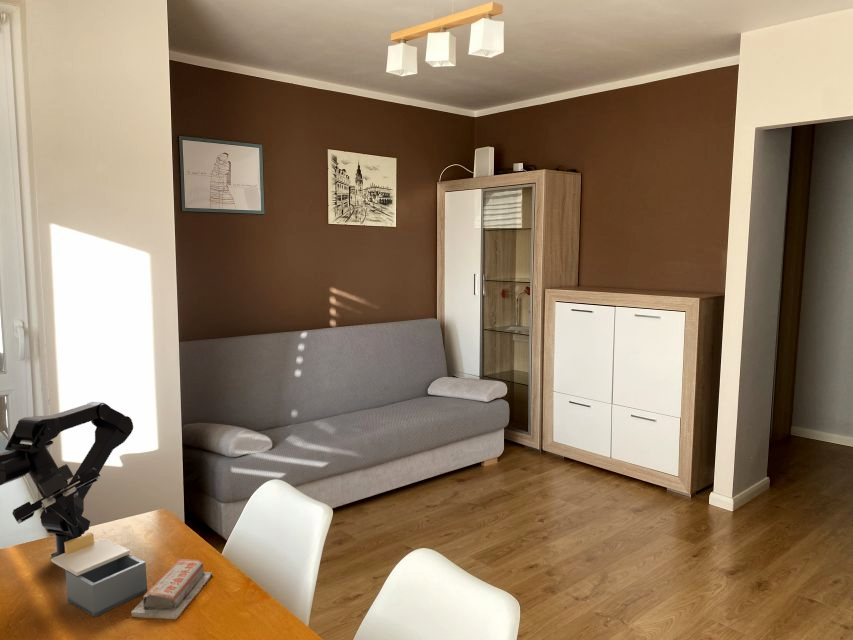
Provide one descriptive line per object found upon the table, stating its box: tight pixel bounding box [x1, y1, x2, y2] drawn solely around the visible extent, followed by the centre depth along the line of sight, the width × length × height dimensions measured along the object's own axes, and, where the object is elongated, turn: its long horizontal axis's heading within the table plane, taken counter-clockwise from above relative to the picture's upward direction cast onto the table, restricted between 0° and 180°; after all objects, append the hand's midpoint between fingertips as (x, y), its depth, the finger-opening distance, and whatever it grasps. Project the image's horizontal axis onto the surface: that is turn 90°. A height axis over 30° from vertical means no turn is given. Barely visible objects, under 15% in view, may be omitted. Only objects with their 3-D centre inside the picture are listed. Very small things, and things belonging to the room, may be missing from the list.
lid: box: [51, 532, 131, 576], centre depth 147 cm, size 11×12×3 cm
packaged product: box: [130, 558, 213, 620], centre depth 145 cm, size 18×5×10 cm
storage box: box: [64, 553, 149, 618], centre depth 145 cm, size 11×12×7 cm
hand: (76, 526), depth 153 cm, fingers closed
